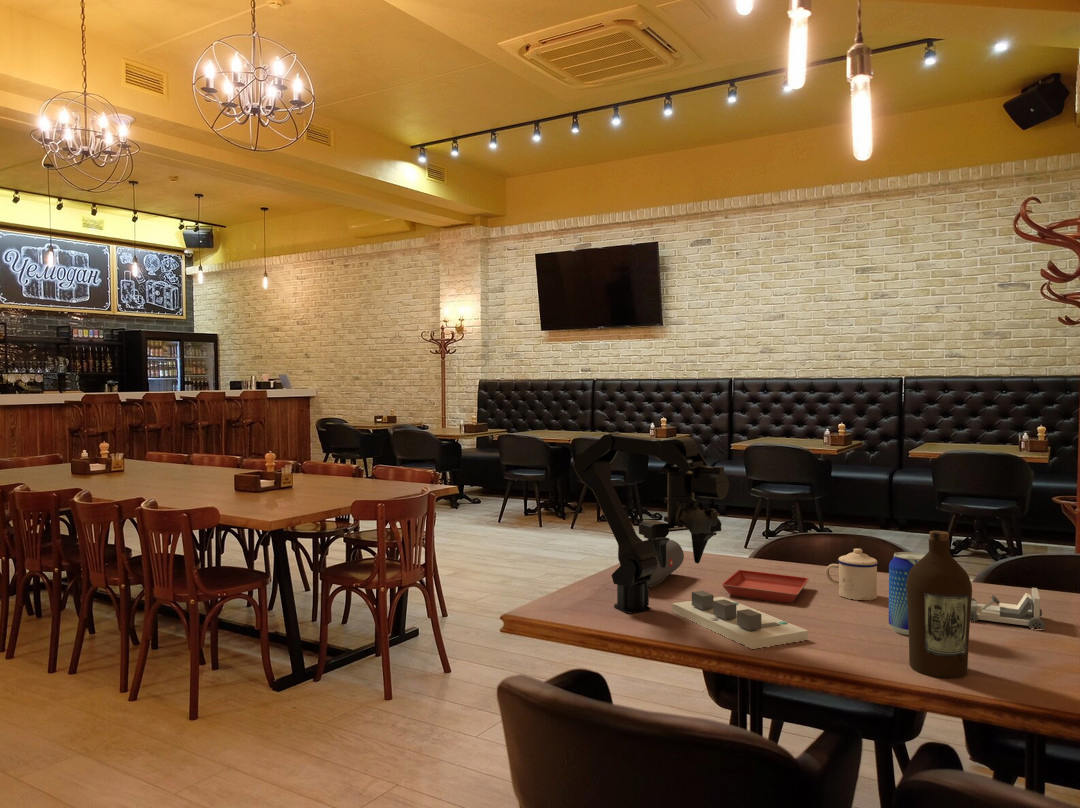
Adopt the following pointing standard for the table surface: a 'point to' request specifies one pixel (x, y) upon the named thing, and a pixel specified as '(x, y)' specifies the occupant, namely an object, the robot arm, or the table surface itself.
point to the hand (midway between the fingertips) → (680, 565)
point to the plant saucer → (764, 585)
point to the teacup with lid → (856, 576)
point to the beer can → (900, 589)
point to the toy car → (1010, 611)
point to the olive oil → (939, 612)
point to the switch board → (768, 635)
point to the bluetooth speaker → (667, 563)
